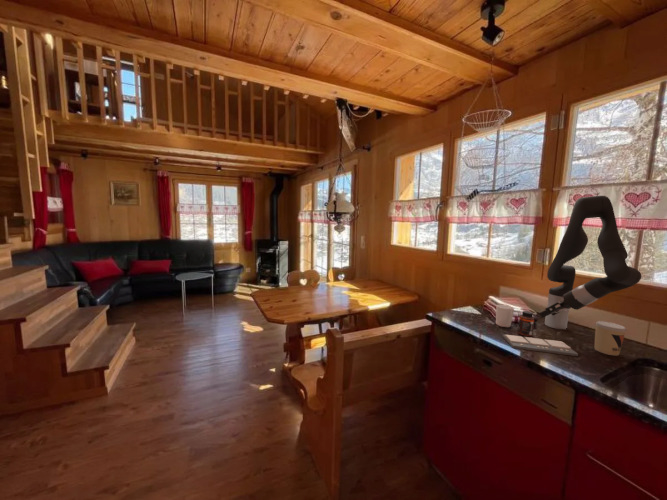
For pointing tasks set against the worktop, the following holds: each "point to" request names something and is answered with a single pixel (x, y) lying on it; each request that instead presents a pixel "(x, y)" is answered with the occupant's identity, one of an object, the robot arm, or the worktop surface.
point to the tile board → (539, 345)
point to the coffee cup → (609, 337)
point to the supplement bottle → (526, 324)
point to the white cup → (504, 315)
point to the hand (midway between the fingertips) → (546, 314)
